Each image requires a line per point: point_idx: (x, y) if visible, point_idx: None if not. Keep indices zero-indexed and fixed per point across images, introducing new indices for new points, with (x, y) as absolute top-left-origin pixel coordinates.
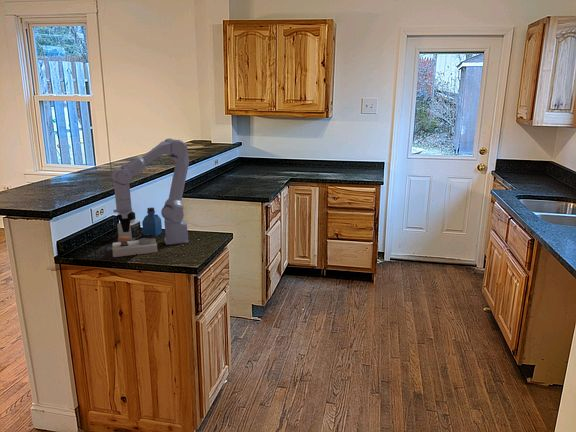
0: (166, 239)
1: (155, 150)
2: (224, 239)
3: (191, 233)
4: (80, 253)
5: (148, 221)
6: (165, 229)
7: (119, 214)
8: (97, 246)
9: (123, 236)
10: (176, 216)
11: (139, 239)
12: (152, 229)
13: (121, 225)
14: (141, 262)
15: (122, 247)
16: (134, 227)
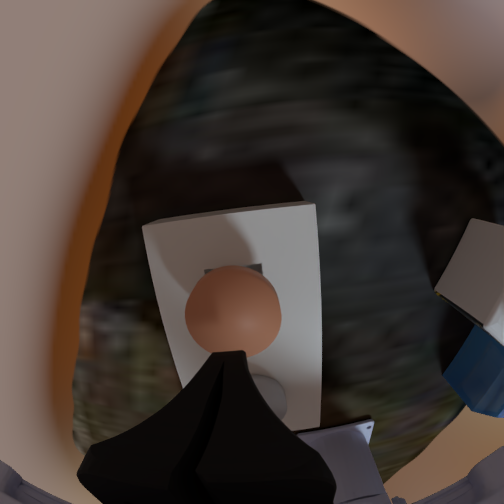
0: (326, 443)
1: None
2: None
3: (395, 461)
4: (277, 30)
5: (496, 385)
6: (338, 477)
7: (303, 494)
8: (388, 105)
9: (263, 316)
10: None
11: (266, 387)
12: (464, 379)
13: (178, 393)
14: (84, 350)
15: (182, 286)
16: (482, 328)
